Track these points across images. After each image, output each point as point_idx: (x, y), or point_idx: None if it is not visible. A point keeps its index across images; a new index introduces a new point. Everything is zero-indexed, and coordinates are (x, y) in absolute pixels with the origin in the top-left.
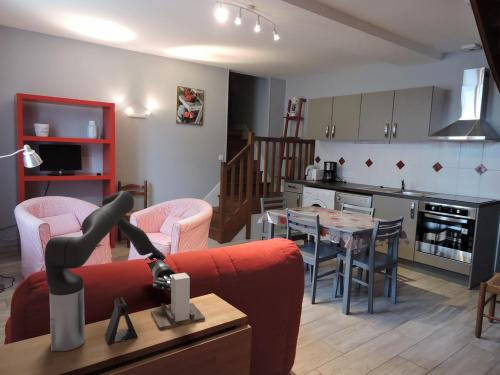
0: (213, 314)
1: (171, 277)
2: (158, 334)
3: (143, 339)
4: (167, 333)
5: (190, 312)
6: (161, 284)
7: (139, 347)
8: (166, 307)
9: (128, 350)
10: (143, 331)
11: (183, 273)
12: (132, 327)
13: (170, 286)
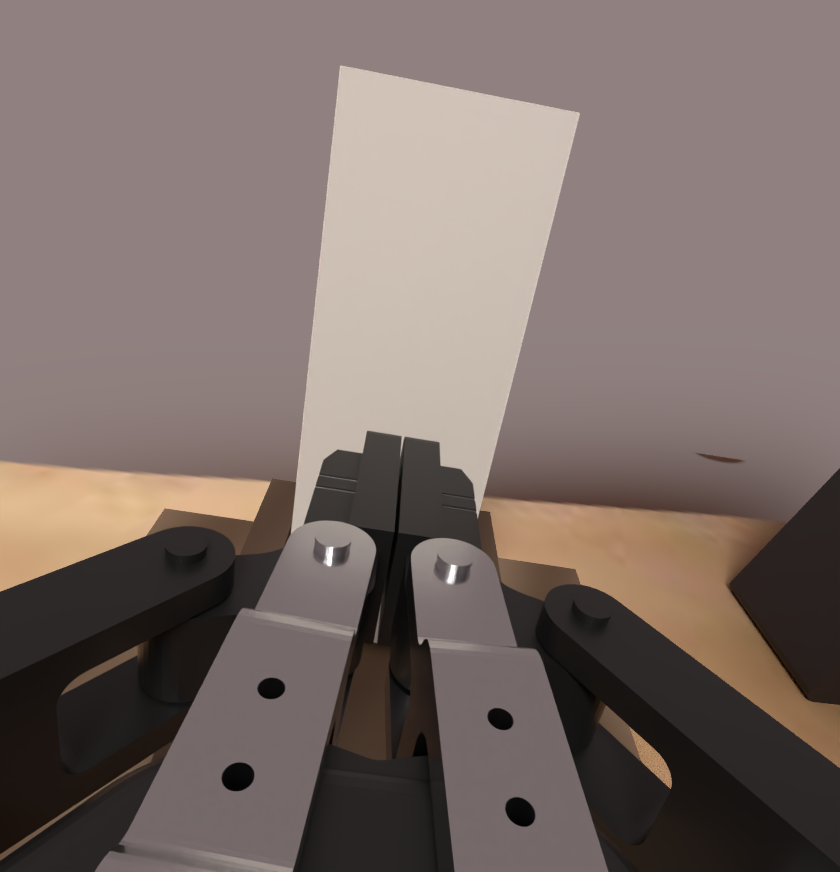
0: (5, 557)
1: (566, 160)
2: (580, 557)
3: (681, 560)
4: (516, 539)
5: (284, 509)
6: (672, 800)
7: (691, 518)
8: None
9: (749, 525)
10: (701, 633)
11: (380, 74)
12: (799, 520)
13: (469, 519)
